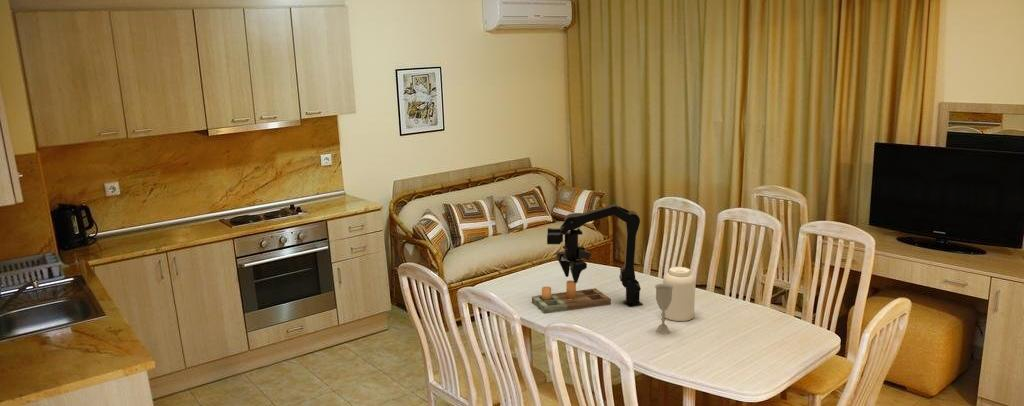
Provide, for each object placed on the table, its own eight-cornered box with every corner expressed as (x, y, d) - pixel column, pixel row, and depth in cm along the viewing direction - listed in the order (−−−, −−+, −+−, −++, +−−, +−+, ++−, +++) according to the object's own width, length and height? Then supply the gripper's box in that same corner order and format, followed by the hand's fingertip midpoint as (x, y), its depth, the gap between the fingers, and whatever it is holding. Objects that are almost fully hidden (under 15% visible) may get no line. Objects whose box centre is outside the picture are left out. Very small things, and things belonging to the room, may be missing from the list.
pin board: (610, 304, 318) (610, 298, 317) (544, 313, 308) (544, 307, 308) (595, 293, 332) (595, 288, 331) (532, 302, 322) (532, 296, 322)
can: (694, 322, 296) (696, 274, 292) (662, 320, 298) (663, 272, 294) (693, 311, 308) (695, 265, 304) (662, 310, 310) (663, 263, 306)
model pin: (552, 304, 319) (552, 288, 317) (543, 305, 317) (543, 290, 316) (549, 301, 322) (549, 286, 321) (540, 302, 321) (540, 287, 320)
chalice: (659, 326, 292) (660, 282, 288) (675, 330, 288) (676, 285, 284) (650, 332, 287) (651, 287, 283) (666, 336, 282) (667, 290, 279)
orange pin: (577, 298, 318) (577, 282, 317) (568, 299, 317) (568, 283, 315) (573, 295, 322) (573, 280, 320) (565, 296, 321) (565, 281, 319)
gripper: (598, 247, 308) (598, 284, 312) (579, 237, 326) (579, 271, 329) (573, 250, 305) (573, 287, 308) (556, 239, 322) (556, 274, 325)
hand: (571, 279), depth 318 cm, fingers open, 9 cm apart
